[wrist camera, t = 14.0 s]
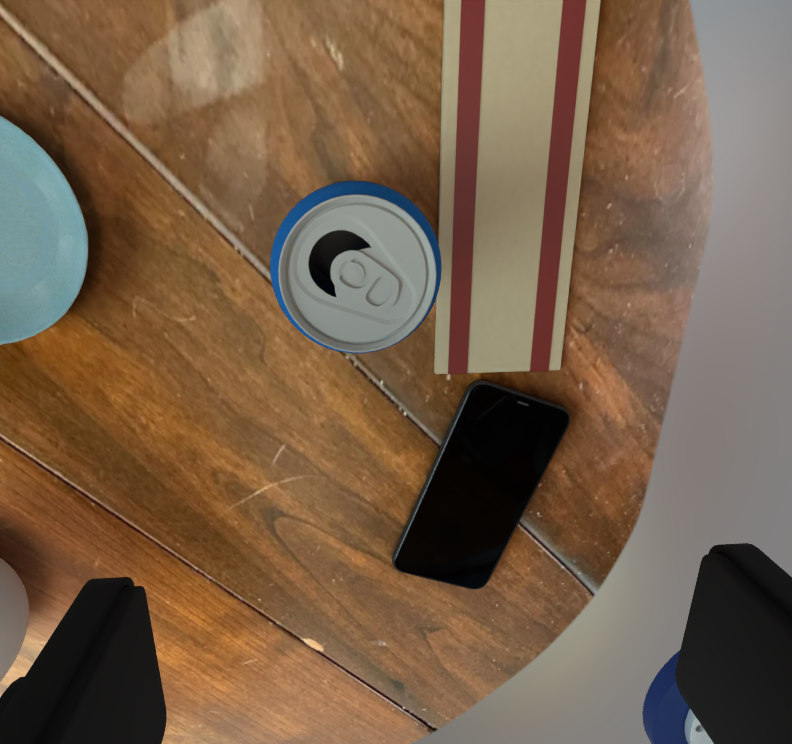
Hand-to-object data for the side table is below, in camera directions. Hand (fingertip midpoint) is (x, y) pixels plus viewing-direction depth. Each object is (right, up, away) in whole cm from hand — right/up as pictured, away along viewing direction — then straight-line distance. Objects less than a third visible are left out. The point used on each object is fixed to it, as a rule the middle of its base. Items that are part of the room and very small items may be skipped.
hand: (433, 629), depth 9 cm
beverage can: (-3, +12, +22) cm, 25 cm away
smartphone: (+5, -4, +28) cm, 28 cm away
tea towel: (+6, +14, +22) cm, 26 cm away
